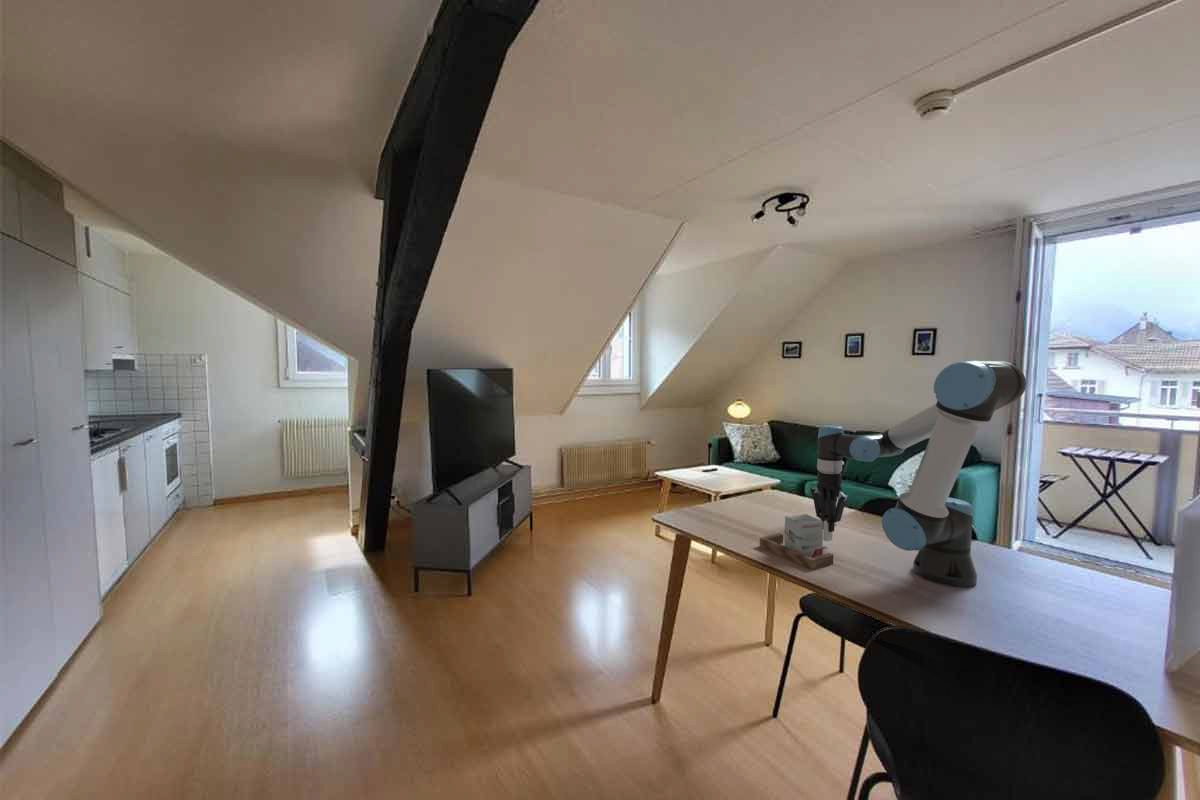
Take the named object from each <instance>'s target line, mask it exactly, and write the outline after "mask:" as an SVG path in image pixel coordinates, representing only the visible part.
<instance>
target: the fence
mask: <svg viewBox="0 0 1200 800" xmlns="http://www.w3.org/2000/svg"><path fill="white" fill-rule="evenodd" d="M783 544H784V534H783V533H781V532H779V533H774V534H770V535H766V536H765V535H764V536H762V537H759V547H760V548H762V549H765V550H766V551H770V552H771V553H773V554H776V555H777V556H780V557H783V558H784V559H786V560H788V561H791V562H794V563H795V564H797V565H800V566H802V567H805V568H806V569H809V570H811V571H815V570H817V569H821V568H824V567H828V566H831V565H833V564H834V556H835V555H834V553H831V552H827V553H822V555H820V556H816V557H812V558H811V557H809V556H806V555H804V554H802V553H799V552H797V551H795V550H792V549H790V548H788V547H785V545H783Z"/></svg>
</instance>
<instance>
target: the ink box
mask: <svg viewBox="0 0 1200 800" xmlns="http://www.w3.org/2000/svg"><path fill="white" fill-rule="evenodd" d="M823 541H824V540H823V522H822V521H820V520H819V518H816V517H813V516H811V515H809V514H807V513H805V514H804V513H803V514H796V515H793V514H792V515H787V516H785V515H784V546H785V547H788V548H790V549H792V550H795V551H797V552H799V553H802V554H804V555H806V556H809V557H811V558H812V557H816V556H820V555H823Z"/></svg>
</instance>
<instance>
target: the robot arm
mask: <svg viewBox="0 0 1200 800" xmlns="http://www.w3.org/2000/svg"><path fill="white" fill-rule="evenodd" d="M933 382H934V383H933V393H934V394H935V399H936V400H937V401H936V403H934V404H933V405H930V406H929V407H927V408H925V409H923V410H921V411H919V412H918V413H916V414H913V415H912V416H910V417H908V418H906V419H904V420H902V421H900V422H899V423H896V424H895V425H892V426H891V427H890V428H888V429H886V430H884V431H882V432H880V433H873V434H862V435H861V434H859V435H856V434H855V435H854V434H847V433H845V432H844V427H843V426H842V425H841V426H840V425H836V424H835V425H834V424H833V425H832V424H830V425H829V424H827V425H826V424H825V425H820V426H819V428H818V434H817V460H816V461H817V464H816V465H817V467H816V470H817V474H816V481H817V484H816V486H815V487H812V488H810V489H809V490H810V493H811V495H812V498H813V504H814V508H815V509H814V510H815V515H816V517H817V518H818V519H819V518H821V520H822V522H823V541H825V542H830V541H833V532H835V527H836V525H835V522H837V523H838V522H840V521H841V520H842V517H843V513H844V510H845V506H846V502H847V501H848V499H849V495H845V493H844V492H843V490H842V481H843V473H842V471H843V465H842V461H843V458H847V459H852V460H855V461H857V462H868V463H871V462H873V461H875V460H876V459H877V458H882V457H883V458H884V457H885V458H886V457H895V456H897V455H898V456H899V455H900V454H903V453H904V452H905V450H906V449H907V448H909V447H911V446H914V445H915V444H918V443H920V442H921V441H924V440H926V439H928V438H929V440H928V442H927V445H926V447H925V450H924V453H923V456H922V458H921V460H920V462H919V465H918V468H917V470H916V472H915V474H914V478H913V480H912V482H911V485H910V487H909V491H906V492H903V493H900V495H899V498H898V500H897V502H896V505H895V507H891V508H889V509H887V510H886V511H885V512H884V513H883V515H882V517H881V527H882V531H883V532H884V533H885V536H886V538H887V539H888V541H890V543H891V544H892V545H893V546H895V547H897V548H898V549H900V550H903V551H909V552H911V551H915V552H916V551H917V554H916V555H915V558H914V560H913V563H912V564H913V565H912V570H913V572H914V573H915V575H917V576H919V577H920V578H923V579H925V580H928V581H930V582H933V583H936V584H939V585H943V586H950V587H956V588H968V587H973V585H974V586H975V585H976V584H977V580H978V579H977V578H978V573H977V571H976V568H975V564H974V561H973V559H972V558H973V557H972V556H971V552H972V551H971V550H972V549H971V548H972V534H973V520H974V519H973V518H974V514H973V506H972V504H970V503H969V502H968V501H965V500H963V499H958V498H953V497H949V496H950V494H951V491H952V490H953V487H954V485H955V483H956V480H957V478H958V477H959V473H960V471H961V469H962V467H963V464H964V462H965V460H966V457H967V455H968V453H969V451H970V448H971V445H973V444H972V443H973V441H974V439H975V437H976V434H977V432H978V430H979V428H980V426H981V425H985V424H986V423H989V422H990V421H991V420H992V417H993V415H994V413H995V411H997V410H999V409H1002V408H1004V407H1007V406H1009V405H1011V404H1013V403H1015V402H1017V401H1018V400H1019V399H1021V397H1022V396H1023V395H1024V393H1025V391H1026V388H1027V379H1026V376H1025V374H1024V372H1023V370H1021V369H1020V368H1019V367H1018V366H1017V365H1015V364H1013V363H1011V362H1007V361H1003V360H975V359H971V360H963V361H959V362H954V363H952V364H949V365H947V366H946V367H944V368H943V369H942V370H941V371H940V372H939V373H938V375H937V376H936V378H935V380H934V381H933ZM820 494H821V495H820ZM837 497H838V502H837ZM836 502H837V506H836Z"/></svg>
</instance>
